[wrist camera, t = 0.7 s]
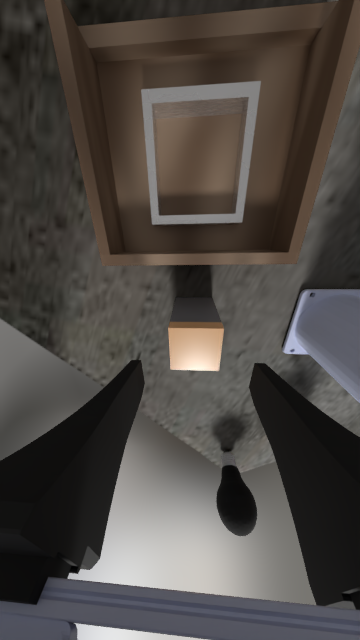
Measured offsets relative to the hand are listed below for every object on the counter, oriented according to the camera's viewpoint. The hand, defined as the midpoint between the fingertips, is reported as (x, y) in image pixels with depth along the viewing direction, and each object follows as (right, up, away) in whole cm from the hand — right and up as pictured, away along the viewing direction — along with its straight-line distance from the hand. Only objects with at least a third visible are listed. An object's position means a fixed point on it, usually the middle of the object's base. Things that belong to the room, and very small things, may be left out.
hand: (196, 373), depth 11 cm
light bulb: (+8, -22, +21) cm, 31 cm away
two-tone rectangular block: (+1, +4, +8) cm, 9 cm away
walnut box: (0, +15, +3) cm, 16 cm away
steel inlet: (0, +15, +3) cm, 16 cm away
